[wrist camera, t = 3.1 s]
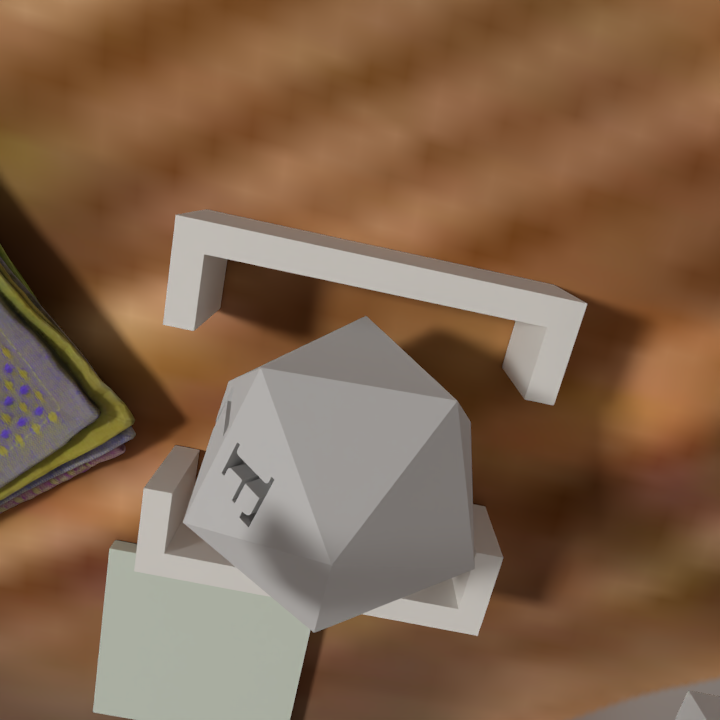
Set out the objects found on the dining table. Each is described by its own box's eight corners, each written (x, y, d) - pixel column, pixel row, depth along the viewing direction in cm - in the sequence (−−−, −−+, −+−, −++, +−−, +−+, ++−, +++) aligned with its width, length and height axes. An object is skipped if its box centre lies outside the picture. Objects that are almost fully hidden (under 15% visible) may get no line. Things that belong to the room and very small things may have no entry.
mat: (115, 540, 25) (109, 548, 25) (321, 579, 26) (320, 588, 25) (98, 701, 28) (93, 712, 27) (285, 734, 28) (284, 745, 28)
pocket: (206, 209, 21) (175, 214, 18) (553, 284, 22) (587, 303, 19) (165, 518, 25) (133, 571, 22) (463, 576, 26) (477, 635, 22)
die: (292, 261, 22) (233, 323, 12) (499, 369, 23) (592, 504, 13) (201, 446, 24) (91, 621, 15) (394, 537, 25) (409, 755, 16)
